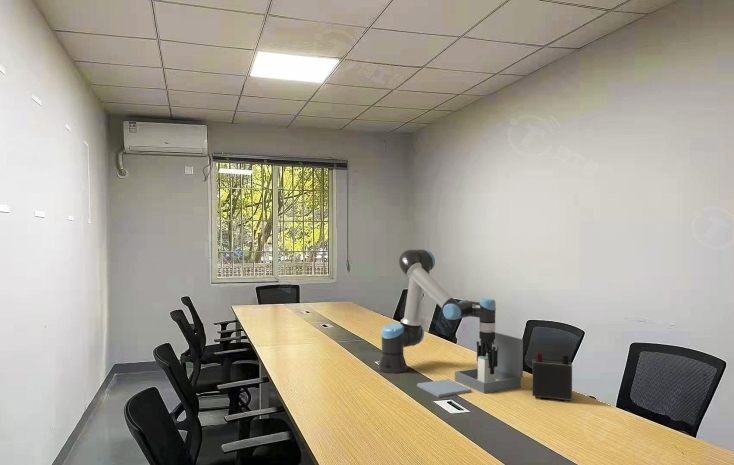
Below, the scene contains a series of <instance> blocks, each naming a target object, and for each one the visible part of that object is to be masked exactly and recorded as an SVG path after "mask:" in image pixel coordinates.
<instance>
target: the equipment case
mask: <svg viewBox="0 0 734 465" xmlns="http://www.w3.org/2000/svg"><path fill="white" fill-rule="evenodd" d="M494 332H495V340H494V345H495V346H498V366H497V367H496V381H491V382H482V381H479V380H478V367H476V368H470V369H464V370H463V369H462V370H457V371H456V370H455V371H454V382H456V383H458V384H460V385H463V386H465V387H467V388H470V389H473V390H476V391H478V392H480V393H482V394H488V393H495V392H499V391H506V390H512V389H518V388H521V387H522V379H521V378H523V377H524V376H523V375H524V374H523V373H524V368H523V367H524V366H523V365H524V359H523V358H524V345H523V344H524V339H523V338H519V337H514V336H511V335H507V334H504V333H499V332H496V331H494ZM486 355H488V354H487V353H486Z"/></svg>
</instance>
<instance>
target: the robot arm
mask: <svg viewBox="0 0 734 465" xmlns="http://www.w3.org/2000/svg"><path fill="white" fill-rule="evenodd" d="M398 258H399V259H398V265H399V268H400V269H401V272H402V273H403V274H404V275H405V276H406V277H408V278H409V279H408V280H409V281H408V289H407V294H406V295H407V296H406V301H405V308H404V314H403V315H404V316H403V318H402V319H400V323H390V324H386V325H384V326H383V327H382V329H381V355H380V359H379V362H378V365H377V366H378V370H379V371H380V372H383V373H387V374H388V373H389V374H397V373H399V374H400V373H403V372H406V371H407V370H408V368H407V366H408V365H407V362H406V358H405V356H404V349H405V348H407V347H414V346H417V345H418V344H420V343H421V342H422V341H423V340H424V337H425V330H424V328H423V326H422V322H421V321H420V318H421V312H422V305H423V298H424V293H426V294H427V295H428V296H429V297H430V298H431V299H432V300H433V301H434V302H435V303H436V304H437V305H438V306H439V307H440V308H441V310H442V314H443V316H444V318H445V319H446V320H449V321H451V320H452V321H453V320H458V319H464V318H469V317H472V318H473V317H474V318H478V319H479V321H478V322H479V323H478V324H479V328H478V329H479V331H478V332H479V333H478V334H479V339H480V340H479V341H478V340H477V341H476V361H477V363H478V356H486V353H487V354H488V361H489V367H488V381H493V374H494V367H497V366H498V346H495V345H494V340H495V332H496V310H497V308H496V300H495V299H493V298H481V299H479V301H473V300H459V302H458V301H457V300H456V299H455V298H453V297H452V296H451V294H449V293H448V291H446V290H445V289H444V288H443V287H442V286H441V284H439V283H438V281H436V280H435V279H434V277H432V276H431V275H430V271H431V270H432V269H434V267H435V265H436V258H435V256H434V254H433V253H432V252H431V251H430V250H428V249H407V250H404V251H403V252H402V253H401V254H400V256H399V257H398Z"/></svg>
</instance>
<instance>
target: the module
mask: <svg viewBox="0 0 734 465" xmlns="http://www.w3.org/2000/svg"><path fill="white" fill-rule="evenodd" d="M488 367H489V361H488V355H486V356H478V362H477V368H478V378H477V380H479V381H482V382H491V381H488ZM493 381H497V379H496V367H494V374H493Z"/></svg>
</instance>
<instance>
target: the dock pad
mask: <svg viewBox="0 0 734 465" xmlns="http://www.w3.org/2000/svg"><path fill="white" fill-rule="evenodd" d="M416 387H418V388H419V389H421V390H423V391H426V392H428V393H429V394H431V395H433V396H435V397H437V398H442V397H449V396H453V395H454V396H455V395H461V394H466V393H467V394H468V393H472V388H470V387H468V386H466V385H464V384H461V383H459V382H457V381H455V380H454V381H453V380H451V379H448V378H445V379H439V380H433V381H425V382H418V383H416Z"/></svg>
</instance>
